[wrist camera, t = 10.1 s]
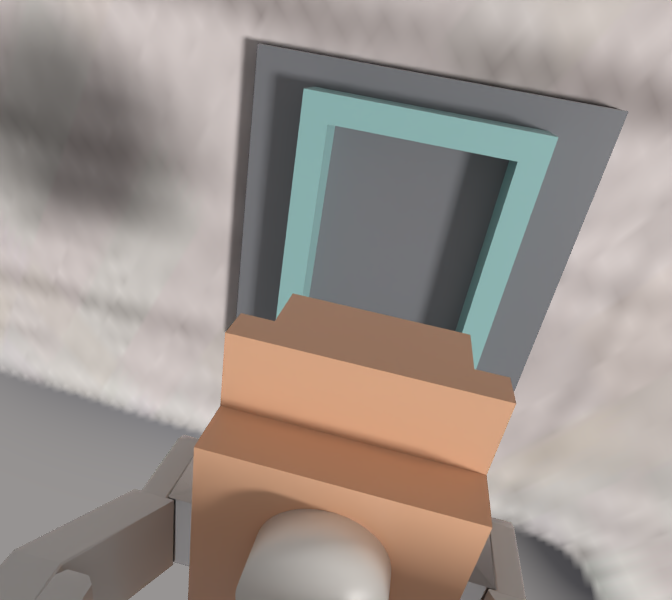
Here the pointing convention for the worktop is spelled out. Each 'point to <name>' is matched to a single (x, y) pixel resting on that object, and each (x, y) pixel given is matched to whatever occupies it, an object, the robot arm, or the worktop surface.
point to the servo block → (344, 460)
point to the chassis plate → (416, 197)
